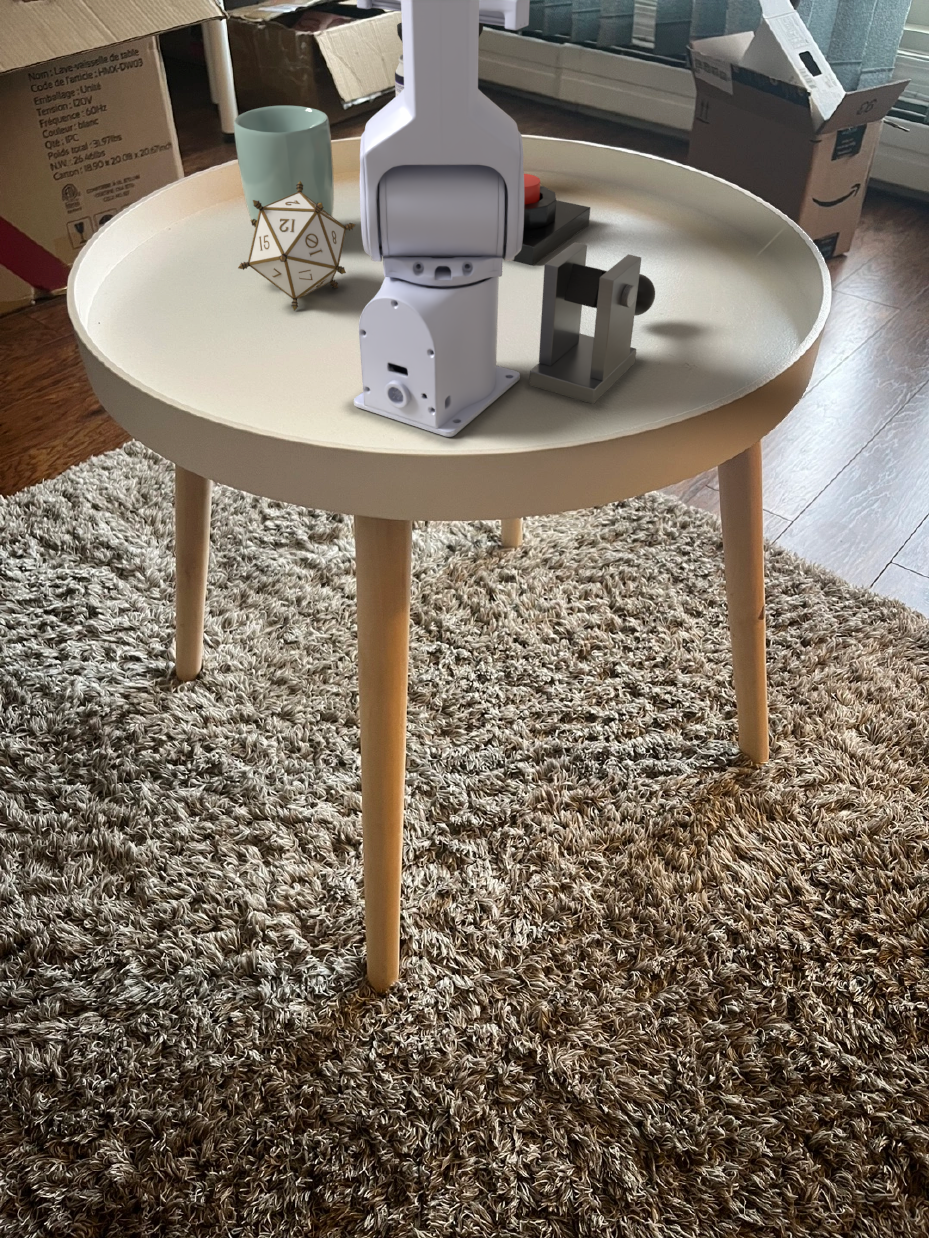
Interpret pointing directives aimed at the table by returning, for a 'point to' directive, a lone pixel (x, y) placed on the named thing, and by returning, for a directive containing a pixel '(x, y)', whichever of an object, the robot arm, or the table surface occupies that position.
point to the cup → (284, 155)
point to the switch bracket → (576, 357)
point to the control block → (549, 226)
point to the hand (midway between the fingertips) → (441, 118)
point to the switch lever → (587, 286)
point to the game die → (296, 245)
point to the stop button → (531, 189)
